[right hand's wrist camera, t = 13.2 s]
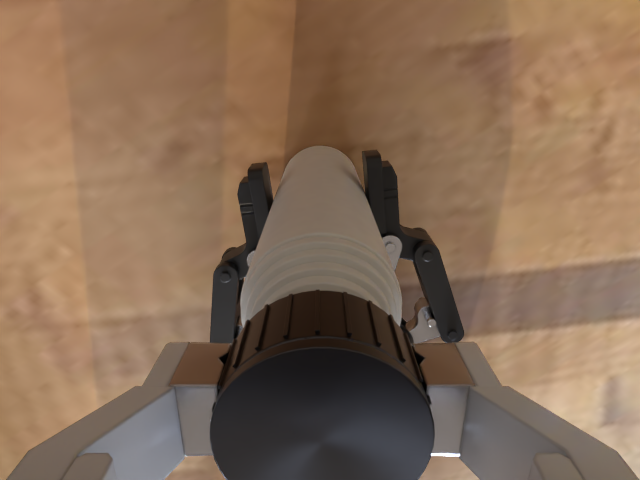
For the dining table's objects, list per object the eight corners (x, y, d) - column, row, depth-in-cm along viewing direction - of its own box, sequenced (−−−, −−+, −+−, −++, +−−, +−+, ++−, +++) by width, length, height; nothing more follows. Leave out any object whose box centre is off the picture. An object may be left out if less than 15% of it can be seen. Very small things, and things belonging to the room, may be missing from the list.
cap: (191, 377, 10) (160, 451, 8) (310, 248, 9) (308, 297, 7) (330, 467, 11) (332, 553, 9) (453, 361, 10) (486, 432, 8)
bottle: (266, 187, 28) (151, 436, 9) (316, 128, 26) (306, 270, 7) (324, 233, 29) (333, 545, 10) (373, 179, 27) (495, 416, 8)
